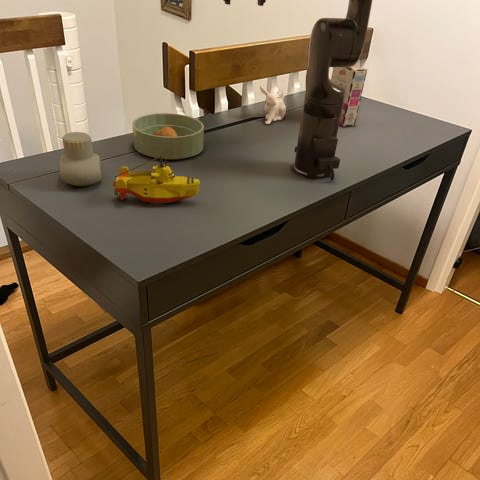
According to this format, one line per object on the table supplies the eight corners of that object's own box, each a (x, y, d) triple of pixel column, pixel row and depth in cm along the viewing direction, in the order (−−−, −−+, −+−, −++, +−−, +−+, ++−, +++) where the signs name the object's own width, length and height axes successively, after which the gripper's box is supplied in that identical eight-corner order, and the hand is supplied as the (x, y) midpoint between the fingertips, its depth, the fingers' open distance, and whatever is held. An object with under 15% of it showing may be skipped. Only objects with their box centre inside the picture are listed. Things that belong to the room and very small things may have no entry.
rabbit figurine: (267, 124, 145) (271, 91, 139) (249, 118, 149) (252, 85, 142) (290, 117, 152) (295, 85, 146) (272, 111, 156) (276, 79, 150)
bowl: (212, 158, 122) (213, 135, 118) (141, 164, 116) (140, 139, 112) (192, 133, 134) (192, 111, 131) (127, 137, 129) (125, 114, 125)
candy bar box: (355, 126, 150) (368, 69, 140) (342, 127, 149) (354, 70, 138) (336, 114, 158) (346, 60, 147) (323, 115, 156) (333, 60, 145)
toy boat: (117, 192, 104) (112, 147, 97) (199, 195, 105) (200, 151, 99) (113, 206, 99) (107, 159, 92) (199, 209, 100) (200, 163, 94)
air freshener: (101, 191, 103) (96, 146, 97) (62, 192, 102) (53, 146, 95) (102, 170, 111) (97, 127, 105) (65, 171, 110) (57, 127, 103)
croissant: (171, 137, 130) (171, 120, 127) (182, 152, 122) (182, 135, 119) (152, 138, 128) (152, 121, 125) (162, 154, 120) (162, 136, 117)
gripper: (225, -87, 97) (221, 6, 108) (286, -81, 102) (277, 8, 113) (213, -88, 103) (210, 1, 113) (272, -82, 107) (265, 3, 118)
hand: (244, 4), depth 113 cm, fingers open, 8 cm apart
